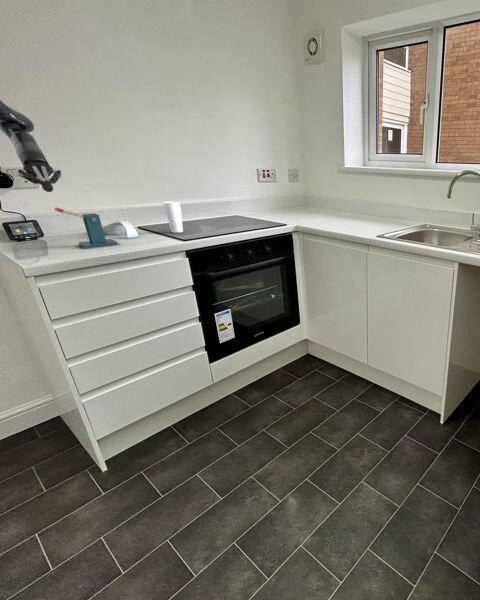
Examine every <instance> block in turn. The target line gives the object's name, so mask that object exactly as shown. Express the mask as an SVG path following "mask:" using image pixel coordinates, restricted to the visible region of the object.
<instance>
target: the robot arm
mask: <svg viewBox="0 0 480 600" xmlns="http://www.w3.org/2000/svg"><path fill="white" fill-rule="evenodd" d="M34 130H35V124H34V123H33V121H32V119H30V118H29V117H28V116H26V115H25V114H23V113H21V112H20V111H18V110H16V109H14V108H12V107H10V106H8V105H7V104H6V103H4V102H3V100H1V99H0V131H1V132H2V133H3V134H5V136H6V137H7V138H8V139H9V140H10V141H11V144H12V145H13V147H14V149H15V152H16V154H17V157H18V159H19V160H20V162H21V164H22V166H23V167H22V168H23V169H17V173H18V176H19V177H21V178H22V179H25V180H26V181H28V182H30V183H32V184H34V185H37V184H39V185H40V186H41V188H42V189H43V191H45V192H46V193H53V191H54V186H53V185H55V184H56V183H57V182H58V181H59V180H60V178H61V177H62V171H61V170H60V169H57V170H56V169H54V168H53V167H52V166H51V165H50V164H49V162H48V159H47V158H46V155H45V154H44V152H43V151H42V150H43V149H41V148H40V146H39V144H38V143H37V141H36V139H35V137H34V136H33V135H32V134H30V133H32V132H33V131H34ZM51 175H52V176H51Z"/></svg>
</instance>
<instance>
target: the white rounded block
mask: <svg viewBox="0 0 480 600" xmlns="http://www.w3.org/2000/svg"><path fill="white" fill-rule="evenodd" d="M102 228H103V232H104V234H106V235H109V236H114V235H115V236H117V235H122V234H124V232H125V236H126V238H127V239H132V238H138V237H139V234H138V232H137V230H136V229H135V227H134V226H133V225H132V224H131V223H130V222H129V221H127V220H124V221H114V222H113V223H109V224H106V225H102Z"/></svg>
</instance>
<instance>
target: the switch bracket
mask: <svg viewBox="0 0 480 600" xmlns="http://www.w3.org/2000/svg"><path fill="white" fill-rule="evenodd" d="M81 215H84V216H85V218H82V221H83V224H84V227H85V230H86V234H87V238H88V241H79V242H78V243H77V244H78V246H80V247H81V248H83V249H94V248H103V247H111V246H118V244H119V242H118V241H116V240H114V239H112V238H106V236H105V233H104V232H103V228H102V226H103V224H102V221H101V217H100V215H99V214H97V213H95V212H94V213H93V212H92V213H81Z"/></svg>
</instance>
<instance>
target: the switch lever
mask: <svg viewBox="0 0 480 600" xmlns="http://www.w3.org/2000/svg"><path fill="white" fill-rule="evenodd" d="M54 211H56V212H58V213H62V214H67V215H70V216H74V217H79V218H82V219H83V218H85V216H84V215H82V214H80V213H77V212H74V211H73V212H72V211H70V210H66V209H63V208H60V207H55V208H54Z"/></svg>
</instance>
